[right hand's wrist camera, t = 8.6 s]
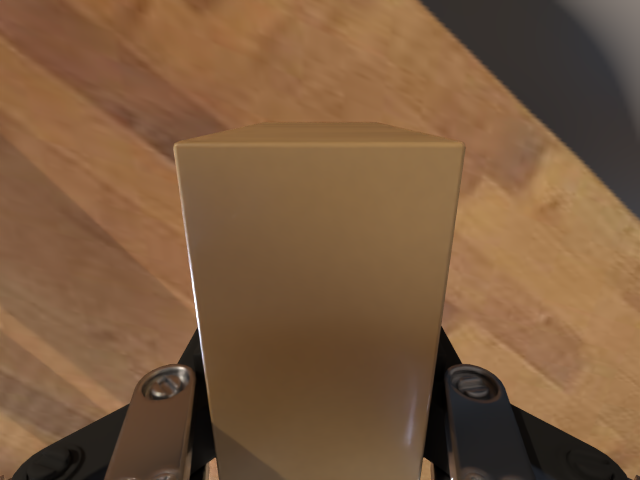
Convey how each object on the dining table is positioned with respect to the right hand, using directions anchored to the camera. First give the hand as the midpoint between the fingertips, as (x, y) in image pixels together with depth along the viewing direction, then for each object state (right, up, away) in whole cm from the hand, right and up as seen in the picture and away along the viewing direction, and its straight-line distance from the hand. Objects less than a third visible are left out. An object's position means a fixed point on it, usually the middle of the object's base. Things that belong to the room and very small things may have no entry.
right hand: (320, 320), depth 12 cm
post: (0, -19, +11) cm, 22 cm away
